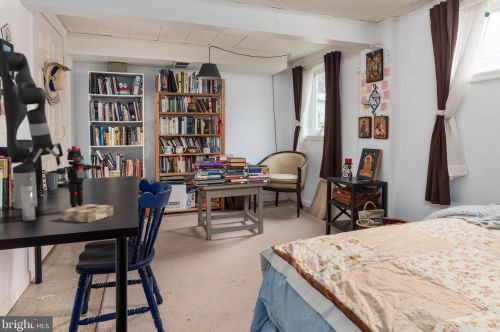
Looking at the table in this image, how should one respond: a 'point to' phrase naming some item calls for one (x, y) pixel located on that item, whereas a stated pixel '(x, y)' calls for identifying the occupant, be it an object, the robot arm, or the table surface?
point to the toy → (75, 175)
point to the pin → (28, 203)
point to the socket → (87, 213)
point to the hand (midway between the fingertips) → (47, 167)
